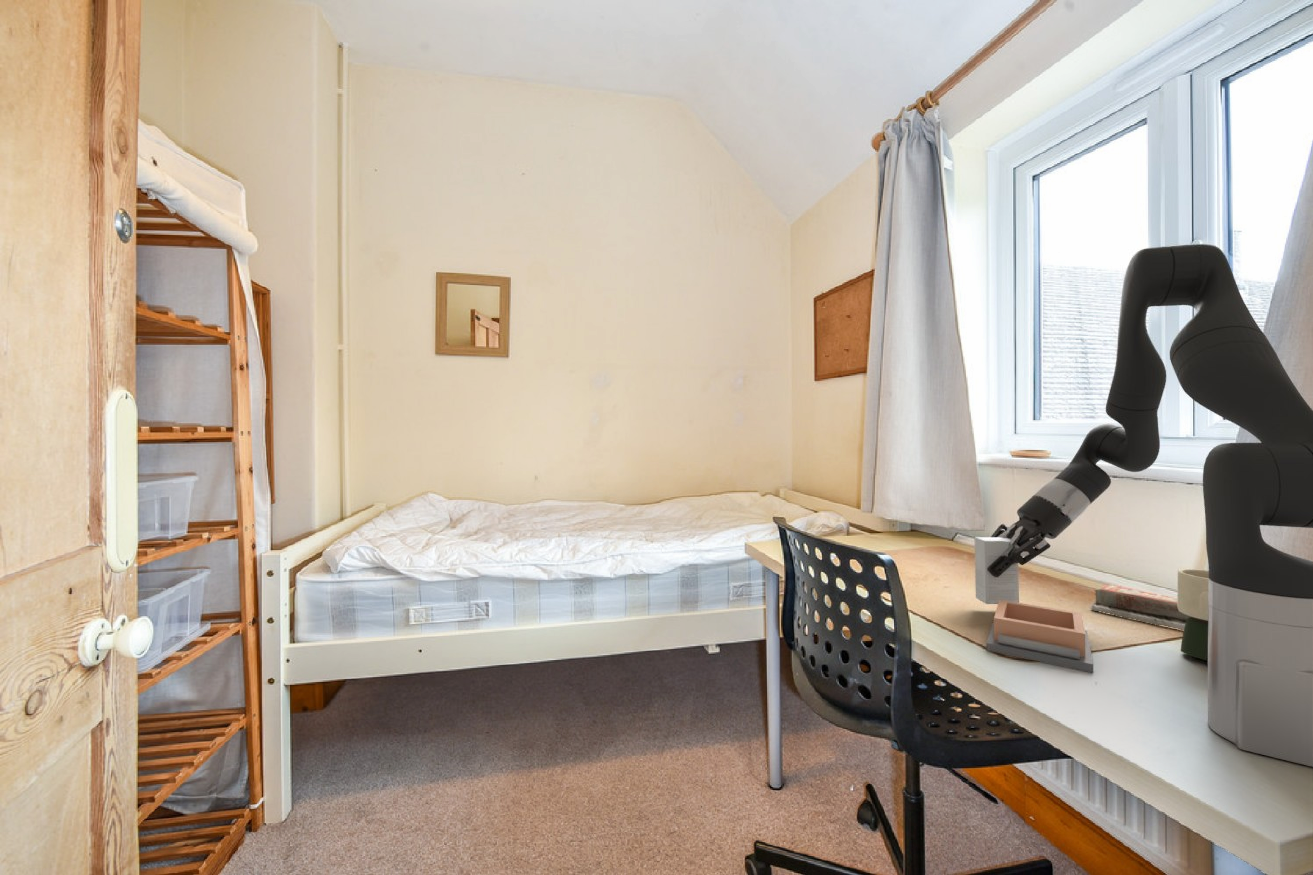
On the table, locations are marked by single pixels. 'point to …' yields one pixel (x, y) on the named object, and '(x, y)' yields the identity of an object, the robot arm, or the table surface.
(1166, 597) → the packaged product
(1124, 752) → the table surface
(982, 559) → the skincare box
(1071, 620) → the open rectangular holder tray
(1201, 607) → the character mug
